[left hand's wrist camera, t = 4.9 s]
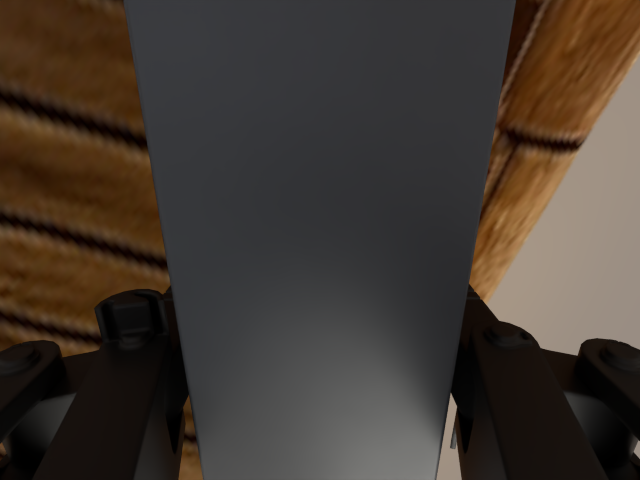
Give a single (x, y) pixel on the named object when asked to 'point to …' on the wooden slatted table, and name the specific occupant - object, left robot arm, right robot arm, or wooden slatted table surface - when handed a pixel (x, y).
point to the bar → (319, 219)
